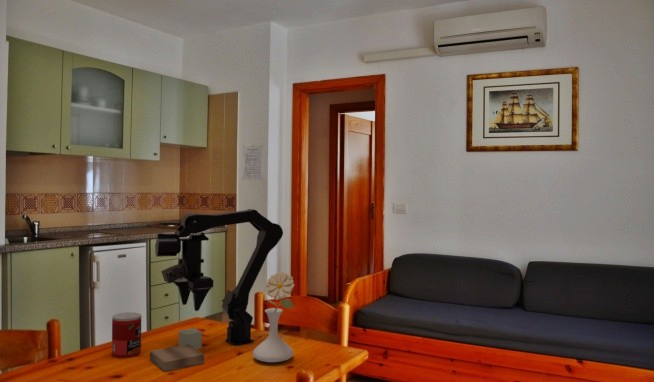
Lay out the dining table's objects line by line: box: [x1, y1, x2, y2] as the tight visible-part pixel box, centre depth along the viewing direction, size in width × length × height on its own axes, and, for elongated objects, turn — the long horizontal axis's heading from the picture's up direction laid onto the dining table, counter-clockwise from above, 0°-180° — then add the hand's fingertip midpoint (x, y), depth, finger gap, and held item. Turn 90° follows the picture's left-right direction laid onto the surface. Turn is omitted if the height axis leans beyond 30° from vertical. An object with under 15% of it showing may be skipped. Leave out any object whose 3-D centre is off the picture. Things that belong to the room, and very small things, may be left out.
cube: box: [178, 327, 202, 350], centre depth 154 cm, size 5×5×5 cm
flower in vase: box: [252, 271, 295, 363], centre depth 144 cm, size 13×11×25 cm
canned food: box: [111, 311, 142, 359], centre depth 147 cm, size 8×8×11 cm
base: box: [149, 344, 205, 373], centre depth 141 cm, size 11×11×2 cm
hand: (190, 307), depth 154 cm, fingers open, 9 cm apart
